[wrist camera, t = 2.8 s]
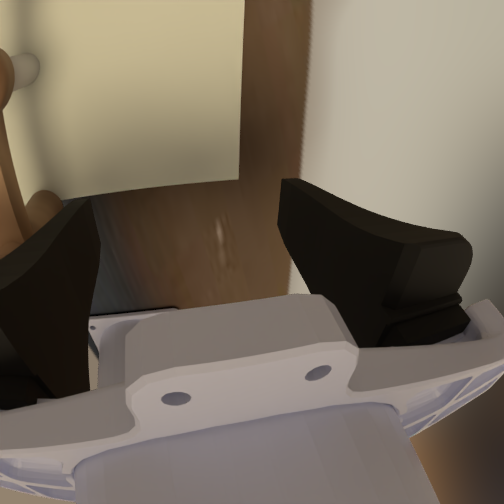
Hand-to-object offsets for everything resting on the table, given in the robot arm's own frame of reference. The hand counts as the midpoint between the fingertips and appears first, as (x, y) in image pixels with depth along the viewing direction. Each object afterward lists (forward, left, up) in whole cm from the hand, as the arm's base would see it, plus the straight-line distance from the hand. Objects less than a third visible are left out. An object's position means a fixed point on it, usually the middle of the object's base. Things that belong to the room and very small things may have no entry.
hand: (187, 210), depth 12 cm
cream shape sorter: (+11, +3, -8) cm, 14 cm away
